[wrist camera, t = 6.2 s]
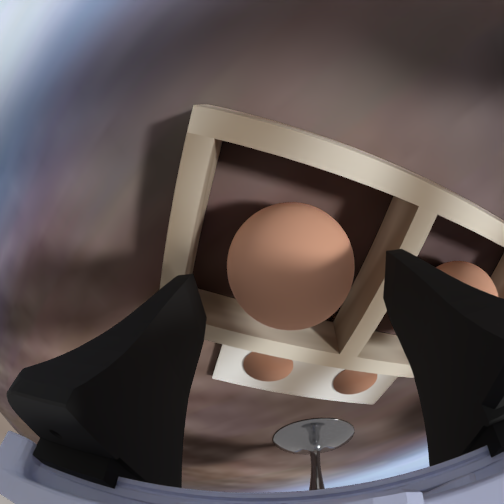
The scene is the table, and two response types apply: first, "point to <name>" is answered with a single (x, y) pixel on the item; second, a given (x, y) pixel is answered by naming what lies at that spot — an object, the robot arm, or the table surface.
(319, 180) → the table surface
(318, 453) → the wine glass
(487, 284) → the ball
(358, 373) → the rack
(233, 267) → the loose ball
